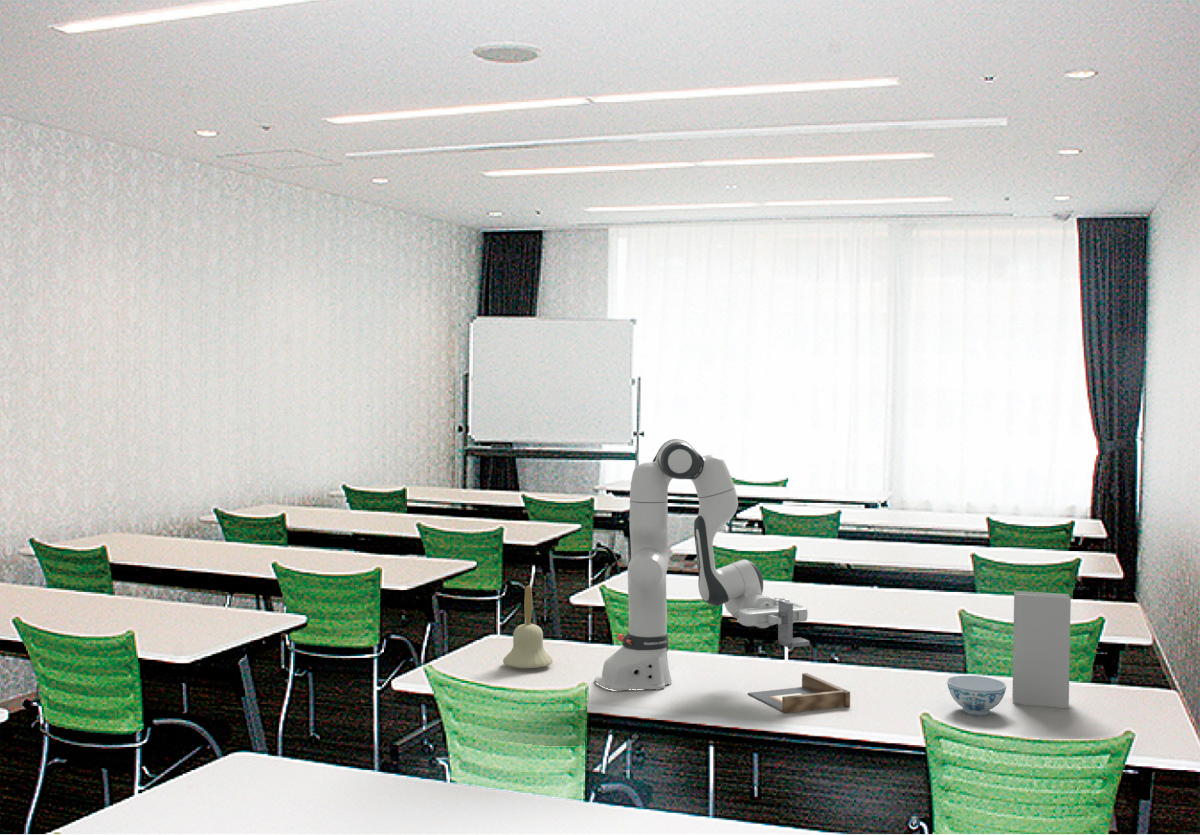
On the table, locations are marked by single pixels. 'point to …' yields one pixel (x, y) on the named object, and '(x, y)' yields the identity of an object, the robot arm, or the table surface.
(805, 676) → the brown wooden corner frame
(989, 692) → the chinaware
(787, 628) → the bracket
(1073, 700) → the table surface
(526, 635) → the handbell
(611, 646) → the table surface
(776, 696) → the mat
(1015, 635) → the tall grey block
